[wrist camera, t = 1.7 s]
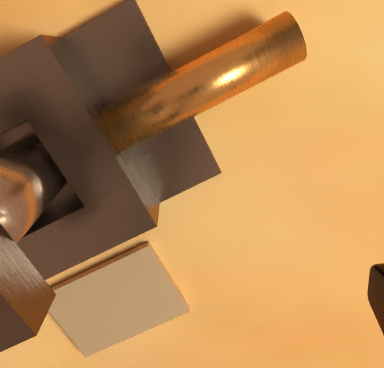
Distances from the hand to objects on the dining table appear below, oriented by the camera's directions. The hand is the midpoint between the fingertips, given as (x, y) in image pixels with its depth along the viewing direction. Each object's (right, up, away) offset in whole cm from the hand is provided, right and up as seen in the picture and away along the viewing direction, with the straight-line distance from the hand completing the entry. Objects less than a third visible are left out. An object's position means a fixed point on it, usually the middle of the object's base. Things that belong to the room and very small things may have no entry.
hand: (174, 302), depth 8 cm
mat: (-5, -5, +16) cm, 17 cm away
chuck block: (-4, +6, +12) cm, 14 cm away
